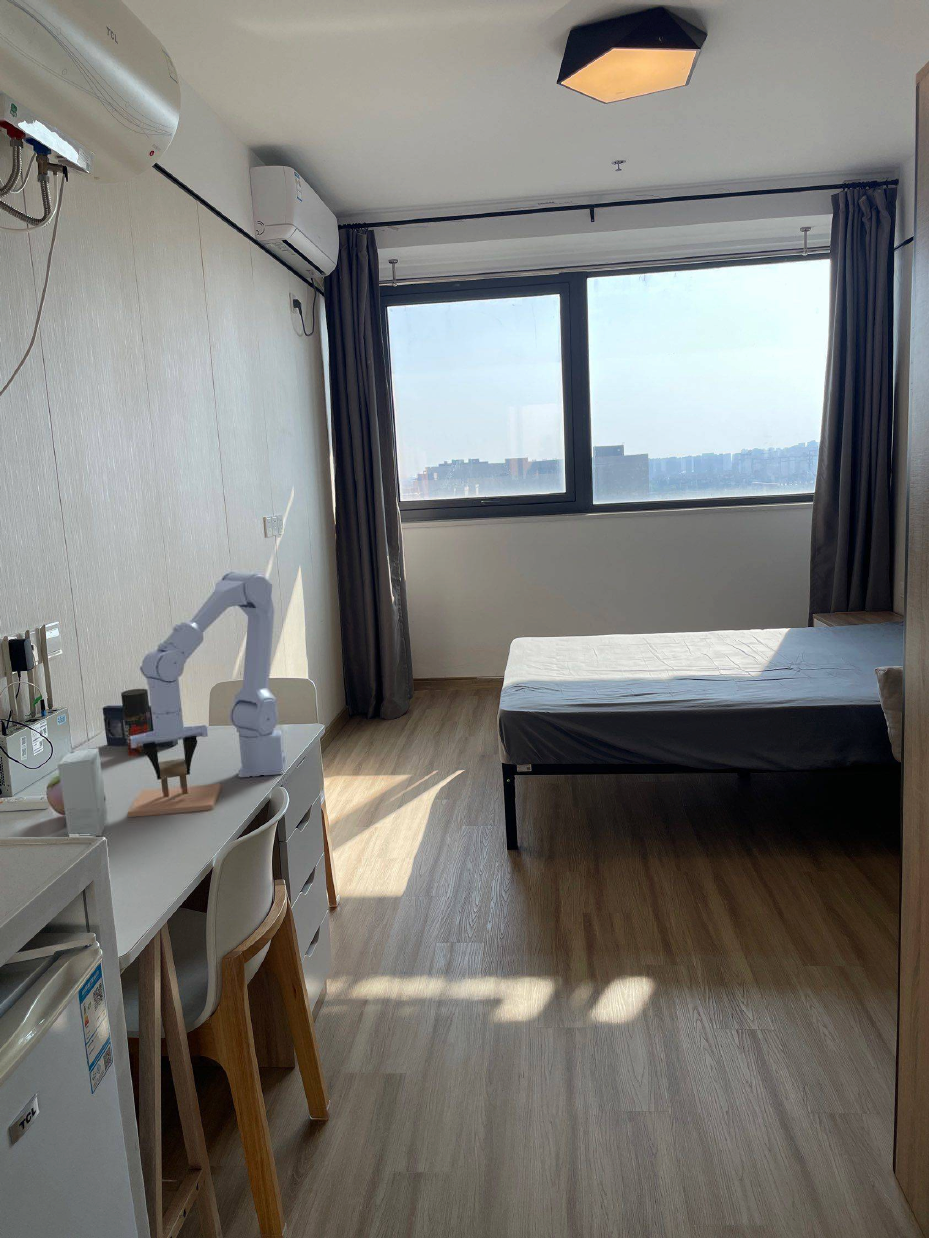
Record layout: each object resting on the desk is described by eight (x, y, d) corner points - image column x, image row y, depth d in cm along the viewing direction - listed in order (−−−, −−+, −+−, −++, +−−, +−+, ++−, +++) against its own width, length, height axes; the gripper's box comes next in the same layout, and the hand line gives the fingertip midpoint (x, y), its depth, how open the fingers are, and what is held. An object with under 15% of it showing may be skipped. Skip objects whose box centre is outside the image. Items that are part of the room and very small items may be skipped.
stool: (186, 786, 179) (184, 758, 178) (188, 794, 175) (186, 765, 174) (161, 790, 177) (158, 762, 176) (162, 798, 173) (159, 769, 172)
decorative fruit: (81, 805, 177) (75, 758, 175) (107, 811, 173) (101, 763, 171) (38, 822, 169) (32, 772, 167) (65, 829, 165) (59, 778, 163)
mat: (220, 788, 183) (220, 783, 183) (212, 809, 171) (212, 804, 171) (142, 795, 181) (141, 790, 181) (128, 817, 169) (127, 812, 169)
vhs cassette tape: (106, 746, 217) (101, 707, 215) (113, 742, 220) (109, 704, 218) (172, 748, 213) (168, 708, 211) (179, 744, 216) (175, 705, 214)
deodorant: (122, 754, 209) (115, 694, 206) (140, 747, 214) (133, 688, 212) (142, 756, 207) (135, 695, 204) (159, 749, 212) (152, 689, 209)
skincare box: (101, 837, 160) (92, 760, 158) (66, 841, 159) (56, 763, 156) (109, 820, 168) (100, 746, 166) (76, 824, 167) (66, 749, 164)
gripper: (202, 700, 179) (208, 763, 182) (127, 711, 174) (134, 775, 176) (206, 708, 173) (212, 773, 175) (128, 719, 167) (136, 786, 170)
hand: (173, 775), depth 175 cm, fingers closed on stool, 5 cm apart
